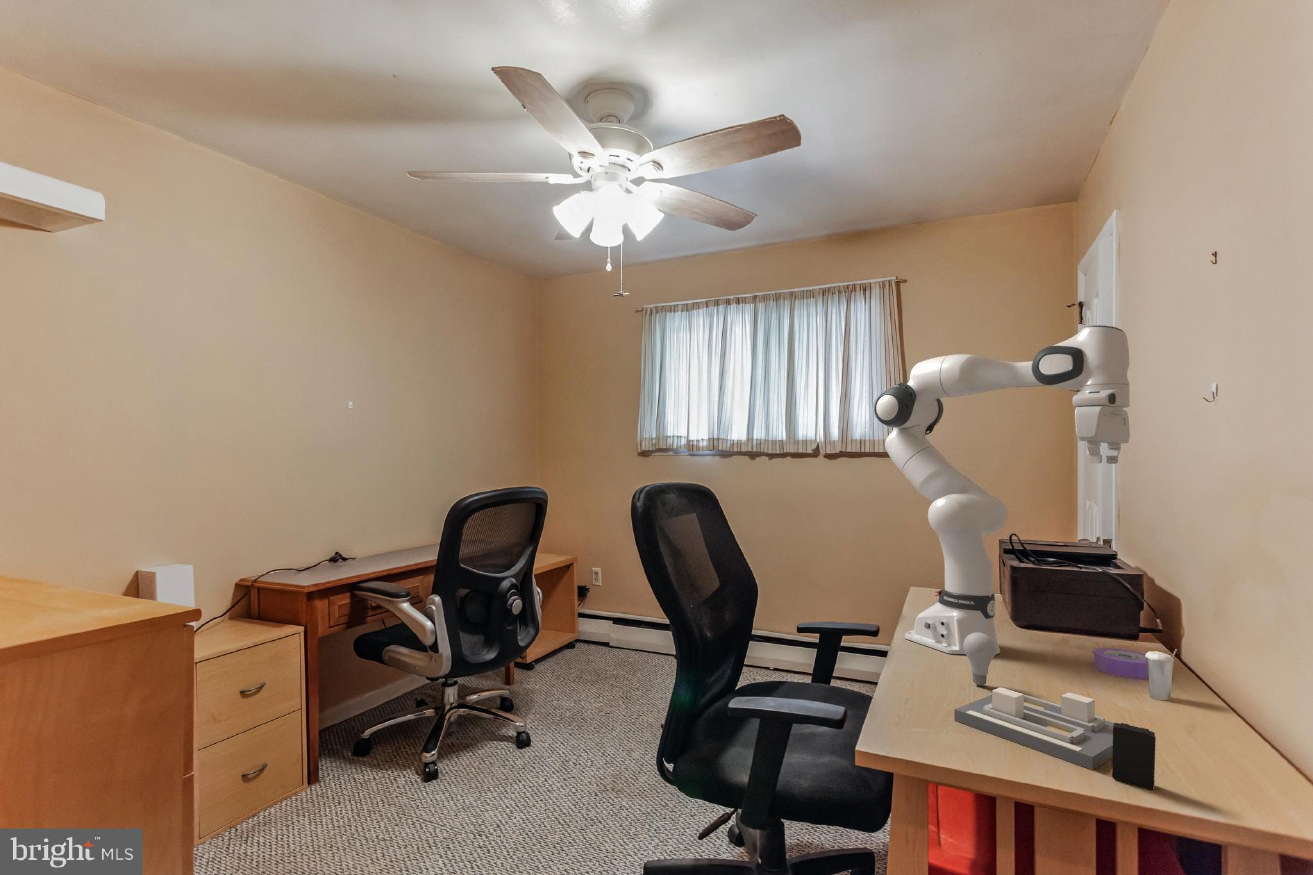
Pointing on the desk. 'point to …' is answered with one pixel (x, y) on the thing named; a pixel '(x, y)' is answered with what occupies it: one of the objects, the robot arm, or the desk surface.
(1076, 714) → the switch tab
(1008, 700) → the switch tab
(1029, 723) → the switch panel
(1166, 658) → the milkshake
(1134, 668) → the masking tape
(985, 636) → the lightbulb
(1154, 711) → the desk surface
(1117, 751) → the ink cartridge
